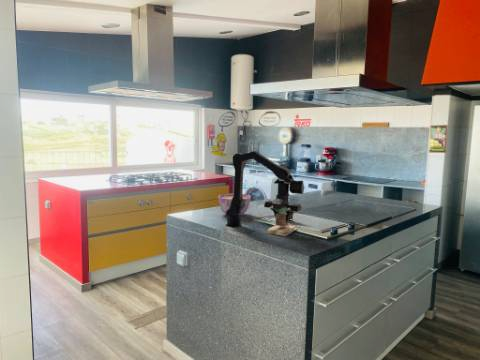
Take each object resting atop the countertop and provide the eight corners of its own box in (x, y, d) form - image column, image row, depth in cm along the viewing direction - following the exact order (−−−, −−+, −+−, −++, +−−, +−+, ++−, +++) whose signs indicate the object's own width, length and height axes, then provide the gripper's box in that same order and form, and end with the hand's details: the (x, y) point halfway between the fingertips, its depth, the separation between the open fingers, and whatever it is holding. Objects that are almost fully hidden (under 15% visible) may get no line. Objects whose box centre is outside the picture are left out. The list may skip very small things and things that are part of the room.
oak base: (267, 233, 190) (267, 229, 189) (278, 226, 202) (278, 223, 202) (285, 236, 185) (285, 232, 185) (295, 229, 197) (295, 226, 197)
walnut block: (275, 225, 192) (276, 213, 191) (279, 223, 196) (279, 212, 195) (284, 226, 190) (285, 215, 189) (288, 224, 194) (288, 213, 193)
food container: (271, 219, 219) (271, 202, 217) (277, 217, 223) (278, 201, 222) (287, 223, 210) (288, 205, 209) (294, 221, 215) (295, 204, 213)
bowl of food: (217, 218, 217) (217, 199, 215) (218, 211, 237) (218, 193, 235) (251, 219, 218) (252, 199, 216) (249, 211, 237) (249, 193, 236)
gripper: (259, 192, 188) (259, 222, 190) (294, 197, 179) (293, 228, 181) (269, 189, 198) (268, 218, 200) (302, 193, 188) (301, 223, 191)
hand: (282, 222), depth 193 cm, fingers closed on walnut block, 5 cm apart
